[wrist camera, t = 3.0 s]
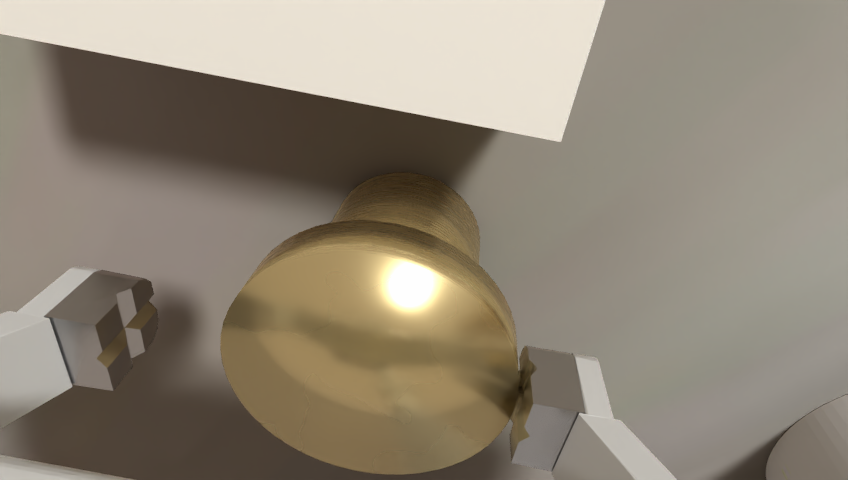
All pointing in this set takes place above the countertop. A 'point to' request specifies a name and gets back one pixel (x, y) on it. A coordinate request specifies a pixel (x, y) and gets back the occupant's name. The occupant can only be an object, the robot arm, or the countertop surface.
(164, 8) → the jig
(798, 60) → the countertop surface
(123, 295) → the robot arm
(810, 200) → the countertop surface
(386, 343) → the brass dome knob
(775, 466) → the white cylinder
